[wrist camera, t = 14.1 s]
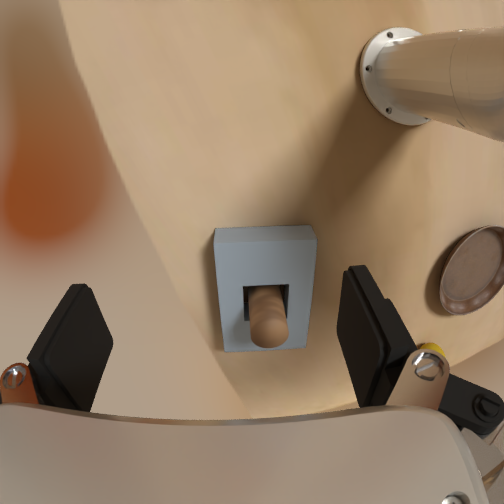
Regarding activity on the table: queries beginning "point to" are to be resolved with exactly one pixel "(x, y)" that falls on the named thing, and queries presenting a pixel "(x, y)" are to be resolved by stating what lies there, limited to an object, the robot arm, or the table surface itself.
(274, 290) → the walnut peg
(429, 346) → the lemon
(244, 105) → the table surface
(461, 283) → the plant saucer
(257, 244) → the hole board
